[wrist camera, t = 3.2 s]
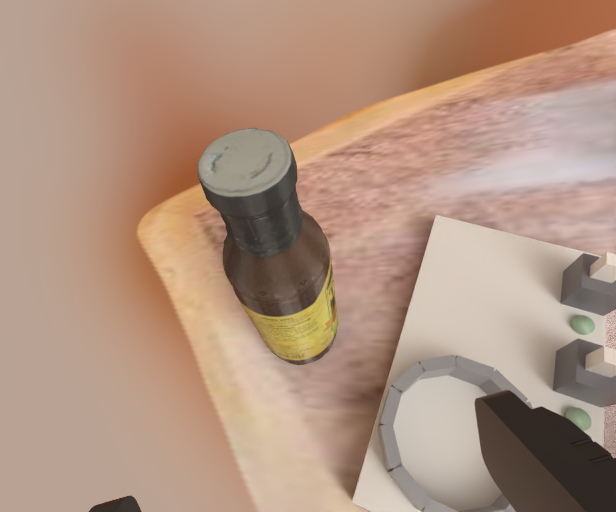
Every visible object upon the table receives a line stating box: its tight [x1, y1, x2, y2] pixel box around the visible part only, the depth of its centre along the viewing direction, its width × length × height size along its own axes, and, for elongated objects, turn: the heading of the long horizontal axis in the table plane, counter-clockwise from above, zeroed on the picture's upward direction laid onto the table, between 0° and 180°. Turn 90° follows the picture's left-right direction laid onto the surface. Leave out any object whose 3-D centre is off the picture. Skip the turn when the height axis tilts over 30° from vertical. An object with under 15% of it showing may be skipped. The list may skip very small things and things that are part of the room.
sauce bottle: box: [198, 128, 338, 365], centre depth 23 cm, size 6×6×20 cm
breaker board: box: [352, 215, 616, 512], centre depth 26 cm, size 24×14×7 cm, turn 158°
